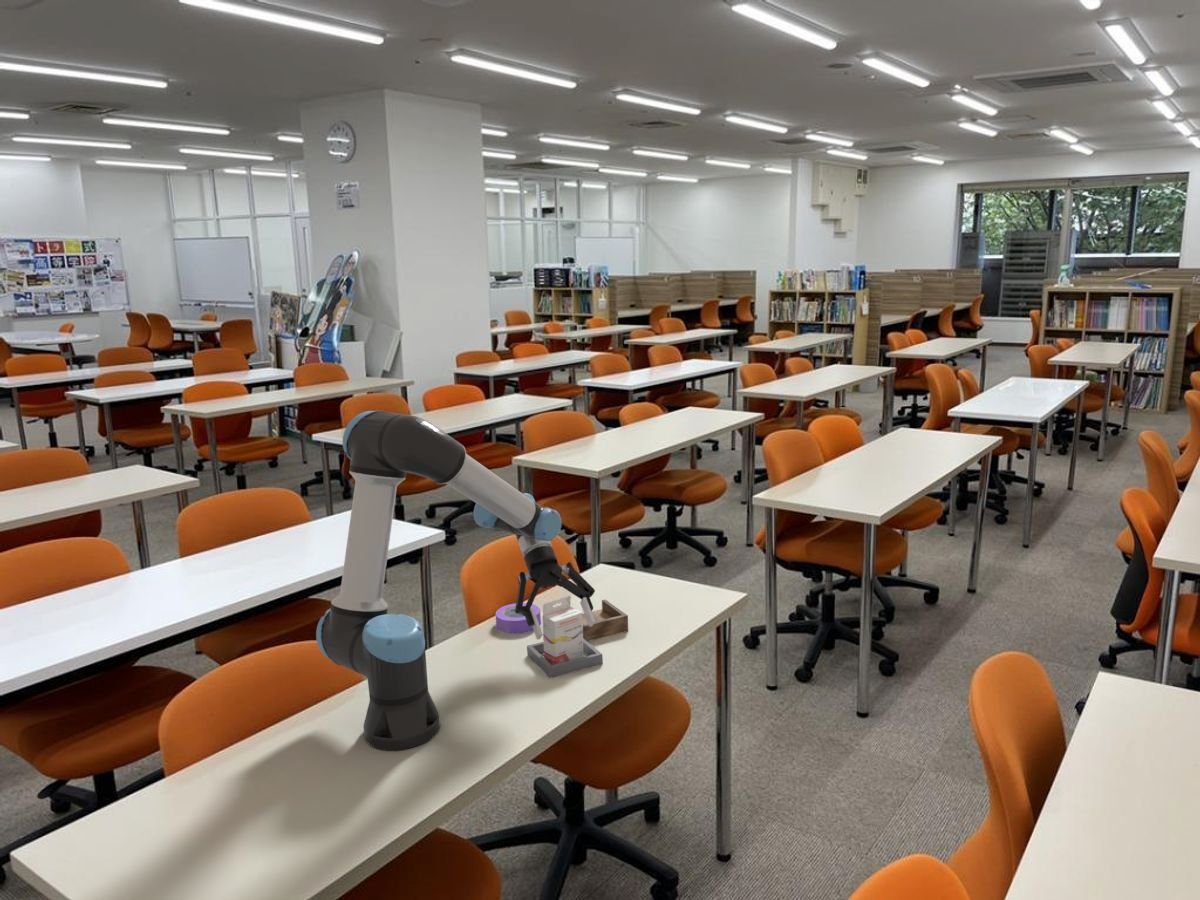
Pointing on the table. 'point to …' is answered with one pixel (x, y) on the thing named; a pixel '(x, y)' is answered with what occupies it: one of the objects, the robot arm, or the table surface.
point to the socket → (568, 666)
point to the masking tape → (514, 619)
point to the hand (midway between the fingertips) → (566, 630)
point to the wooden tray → (605, 622)
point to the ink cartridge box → (562, 632)
